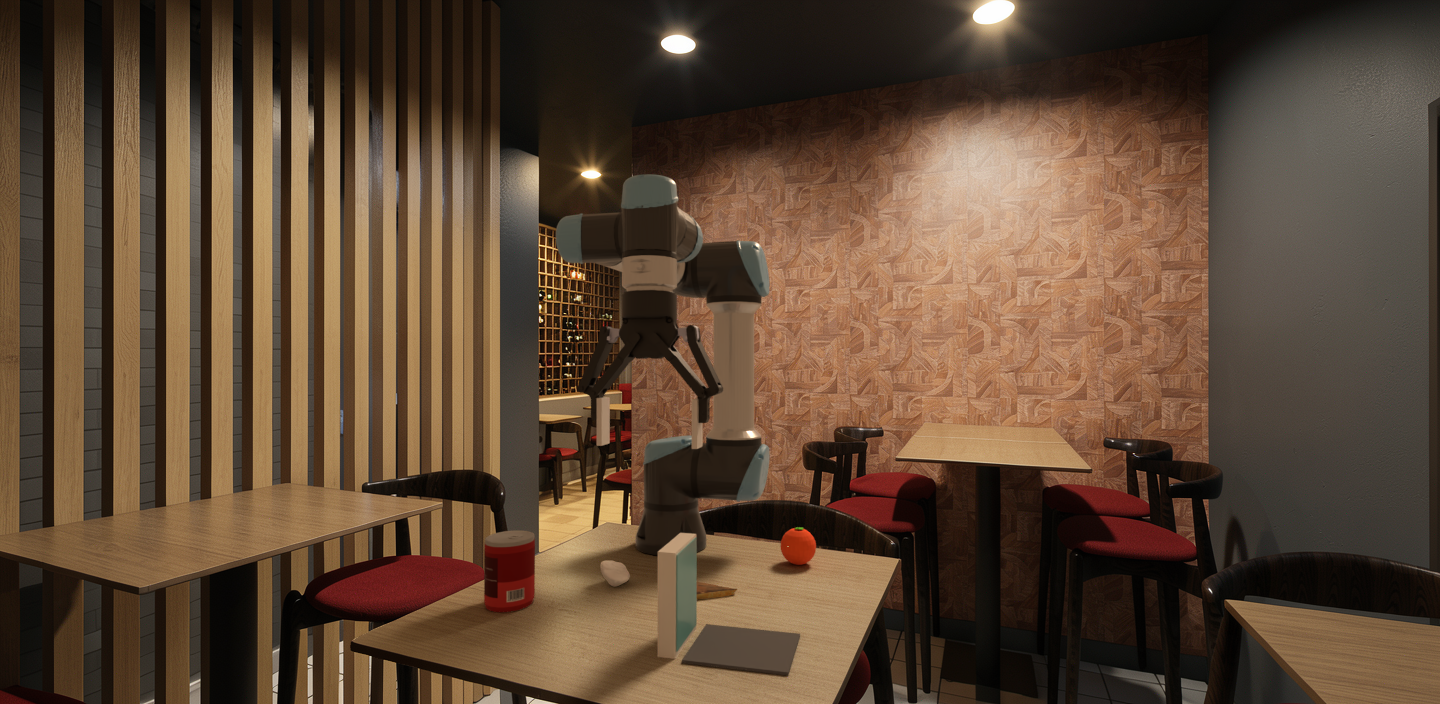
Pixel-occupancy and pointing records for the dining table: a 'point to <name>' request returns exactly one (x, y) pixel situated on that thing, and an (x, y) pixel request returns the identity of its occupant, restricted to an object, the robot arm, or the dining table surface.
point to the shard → (713, 591)
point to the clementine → (798, 546)
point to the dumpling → (614, 572)
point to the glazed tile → (677, 594)
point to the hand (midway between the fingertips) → (649, 446)
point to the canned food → (509, 570)
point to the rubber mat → (744, 649)
